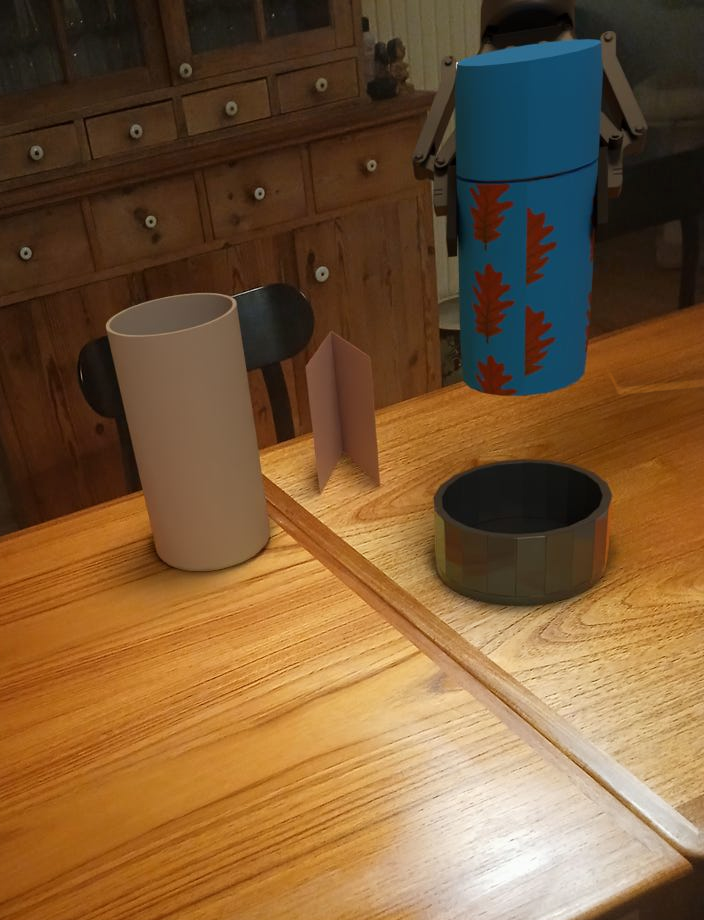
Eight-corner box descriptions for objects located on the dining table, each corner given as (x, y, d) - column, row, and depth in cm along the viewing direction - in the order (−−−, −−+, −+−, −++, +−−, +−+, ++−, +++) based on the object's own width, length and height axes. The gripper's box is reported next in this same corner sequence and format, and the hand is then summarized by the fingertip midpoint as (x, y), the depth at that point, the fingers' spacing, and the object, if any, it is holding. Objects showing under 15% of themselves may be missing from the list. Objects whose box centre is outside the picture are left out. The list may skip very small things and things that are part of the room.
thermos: (514, 345, 94) (517, 43, 80) (613, 364, 86) (635, 34, 72) (435, 382, 89) (424, 69, 75) (532, 406, 82) (539, 62, 68)
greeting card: (335, 451, 121) (323, 331, 113) (395, 451, 119) (387, 327, 111) (312, 494, 113) (297, 367, 104) (376, 494, 110) (366, 364, 102)
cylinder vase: (167, 586, 101) (113, 346, 87) (149, 533, 111) (99, 311, 97) (284, 556, 102) (249, 315, 88) (256, 507, 112) (221, 285, 98)
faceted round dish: (590, 516, 99) (594, 452, 95) (622, 600, 86) (627, 530, 82) (432, 528, 102) (429, 467, 98) (440, 611, 89) (438, 544, 85)
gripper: (670, 9, 83) (675, 251, 79) (392, 53, 89) (385, 278, 86) (685, -66, 76) (691, 195, 72) (382, -13, 82) (373, 229, 79)
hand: (525, 240), depth 79 cm, fingers closed on thermos, 11 cm apart
